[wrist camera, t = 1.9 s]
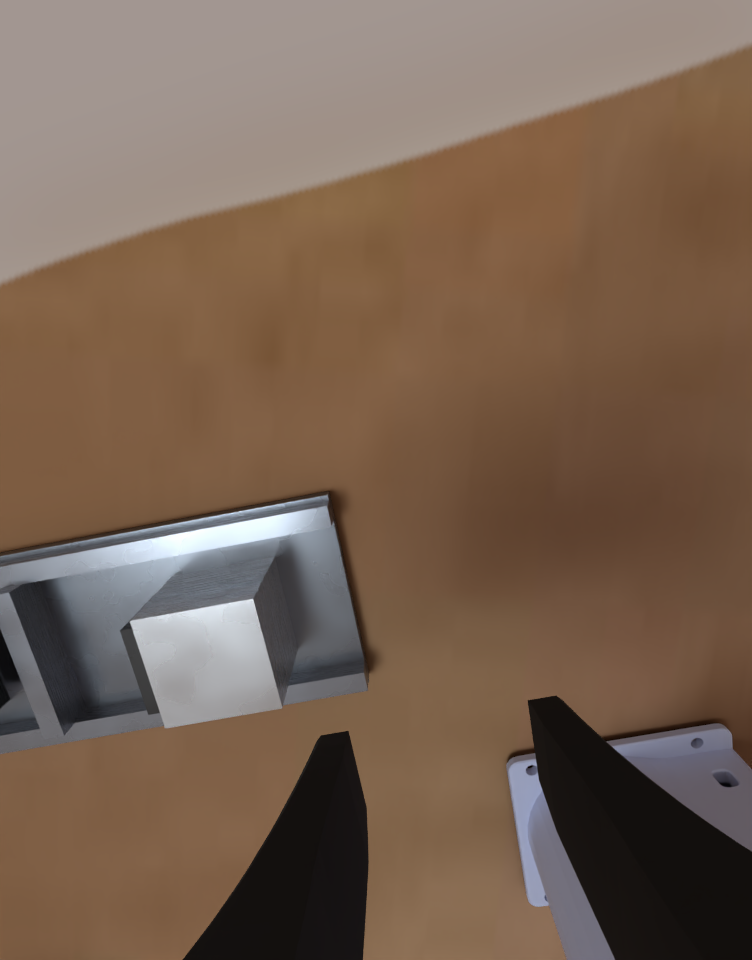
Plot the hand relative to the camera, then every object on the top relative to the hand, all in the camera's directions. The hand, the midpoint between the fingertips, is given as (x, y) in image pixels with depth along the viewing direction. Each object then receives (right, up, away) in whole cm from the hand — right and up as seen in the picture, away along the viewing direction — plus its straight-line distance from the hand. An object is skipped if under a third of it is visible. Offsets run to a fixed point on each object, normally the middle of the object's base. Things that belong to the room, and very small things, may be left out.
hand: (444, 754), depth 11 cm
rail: (-12, 0, +10) cm, 16 cm away
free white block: (-7, +1, +9) cm, 11 cm away
